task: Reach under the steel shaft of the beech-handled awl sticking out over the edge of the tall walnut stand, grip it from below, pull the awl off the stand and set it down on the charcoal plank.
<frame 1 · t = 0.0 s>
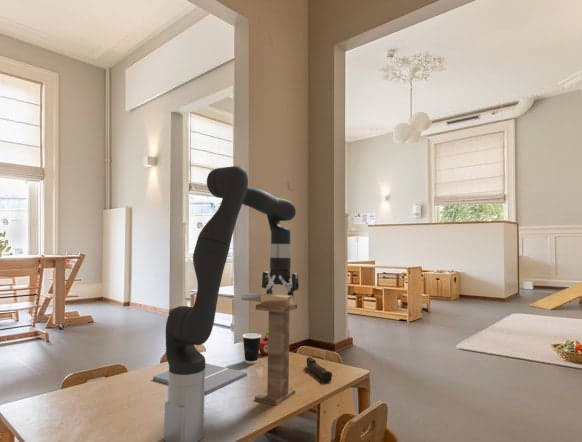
hand: (279, 301, 142), 29 cm above the table, tool pointing down, fingers open, 8 cm apart
dixie cup: (251, 362, 167), on the table
hand tool: (315, 375, 152), on the table
walnut stand: (275, 396, 130), on the table
plank: (200, 377, 147), on the table
awl: (276, 304, 131), point 30 cm above the table, touching walnut stand
apple: (264, 354, 179), on the table
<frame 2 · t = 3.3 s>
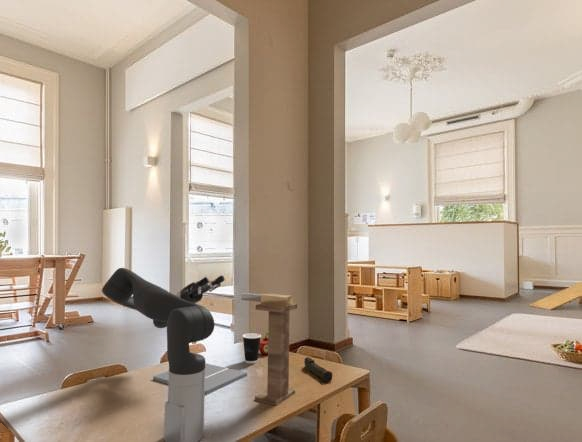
hand: (215, 278, 146), 37 cm above the table, tool pointing upward, fingers open, 8 cm apart
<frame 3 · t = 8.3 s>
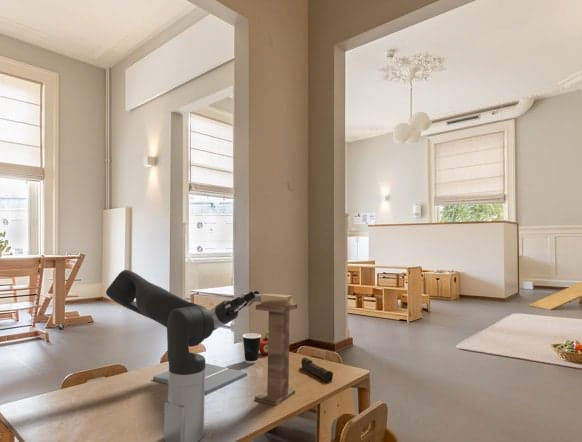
hand: (256, 293, 136), 33 cm above the table, tool pointing upward, fingers closed on awl, 2 cm apart
awl: (276, 304, 131), point 30 cm above the table, touching gripper, walnut stand
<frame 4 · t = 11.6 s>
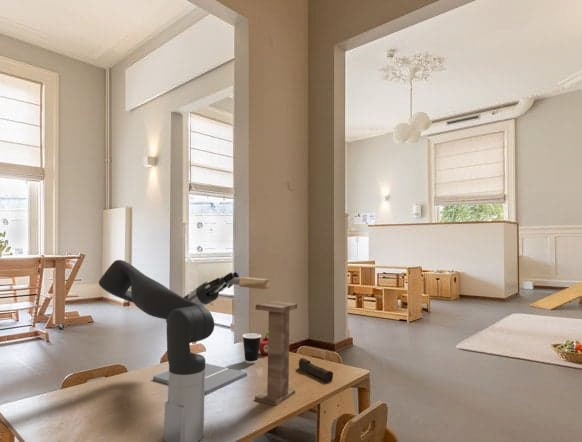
hand: (235, 274, 141), 39 cm above the table, tool pointing upward, fingers closed on awl
awl: (254, 287, 136), point 35 cm above the table, touching gripper
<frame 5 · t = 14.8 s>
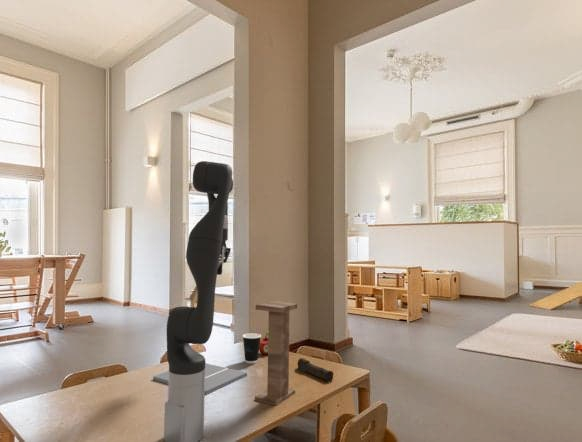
hand: (216, 274, 145), 38 cm above the table, tool pointing down, fingers closed on awl
awl: (198, 287, 149), point 33 cm above the table, tilted 124°, touching gripper
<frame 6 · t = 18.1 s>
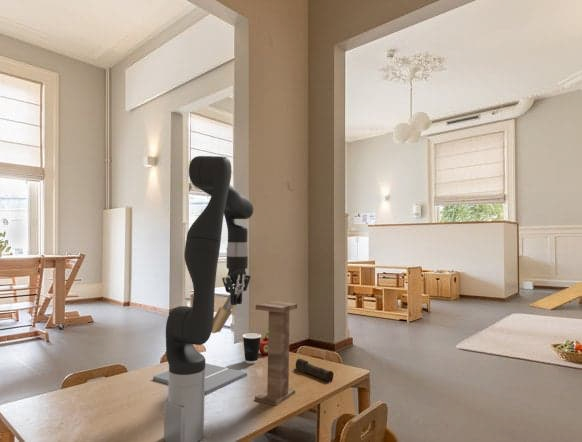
hand: (236, 304, 140), 29 cm above the table, tool pointing down, fingers closed on awl, 2 cm apart
awl: (217, 316, 144), point 23 cm above the table, tilted 125°, touching gripper
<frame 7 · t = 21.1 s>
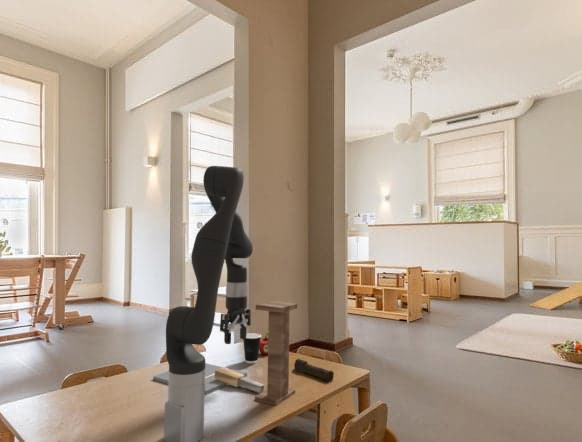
hand: (235, 341, 139), 16 cm above the table, tool pointing down, fingers open, 8 cm apart
awl: (229, 372, 140), point 4 cm above the table, tilted 174°, touching plank
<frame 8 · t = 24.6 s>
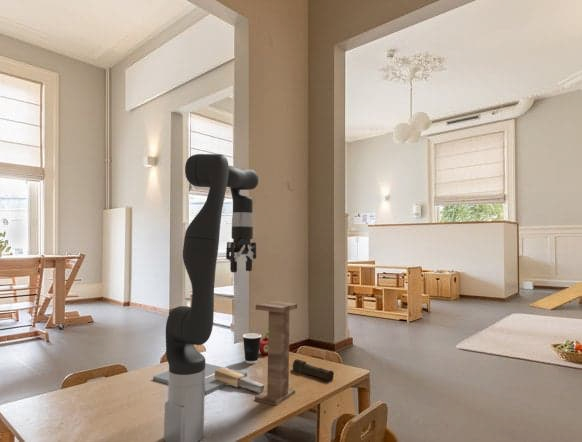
hand: (241, 271, 139), 40 cm above the table, tool pointing down, fingers open, 8 cm apart
at the end: awl inside the target area (13.5 cm from its centre), point 4.2 cm above the table; awl touching plank, table; the gripper is holding nothing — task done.
